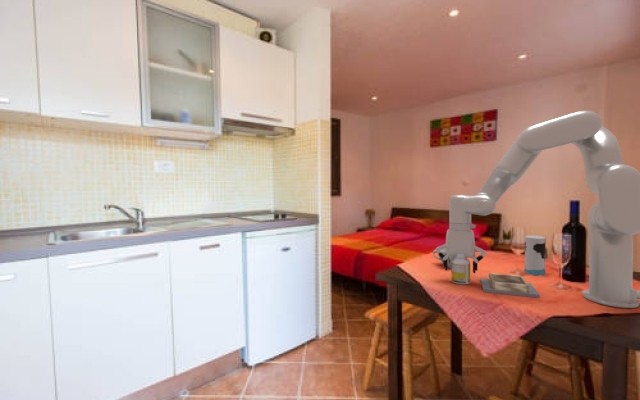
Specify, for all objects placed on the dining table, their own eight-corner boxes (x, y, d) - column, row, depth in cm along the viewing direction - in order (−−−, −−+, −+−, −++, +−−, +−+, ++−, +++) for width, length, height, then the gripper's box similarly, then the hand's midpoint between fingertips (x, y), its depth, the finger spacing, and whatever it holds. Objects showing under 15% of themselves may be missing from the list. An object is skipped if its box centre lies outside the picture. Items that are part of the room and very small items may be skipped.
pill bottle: (466, 279, 113) (465, 250, 112) (473, 285, 106) (473, 254, 106) (449, 279, 113) (448, 250, 113) (455, 285, 107) (454, 254, 106)
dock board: (530, 285, 104) (530, 282, 104) (539, 297, 93) (539, 294, 93) (480, 280, 111) (480, 278, 111) (483, 291, 100) (483, 289, 100)
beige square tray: (522, 282, 104) (522, 275, 104) (529, 293, 95) (529, 285, 95) (488, 279, 109) (488, 273, 109) (492, 289, 99) (492, 282, 99)
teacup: (471, 265, 130) (471, 248, 129) (462, 272, 121) (462, 254, 120) (438, 260, 140) (438, 244, 140) (427, 266, 131) (427, 249, 131)
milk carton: (549, 275, 114) (549, 238, 113) (532, 275, 114) (533, 238, 113) (536, 270, 121) (536, 235, 120) (520, 270, 121) (521, 235, 120)
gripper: (485, 226, 109) (484, 270, 110) (436, 224, 116) (436, 266, 117) (487, 229, 102) (486, 276, 103) (435, 227, 109) (435, 271, 110)
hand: (460, 270), depth 110 cm, fingers open, 9 cm apart
